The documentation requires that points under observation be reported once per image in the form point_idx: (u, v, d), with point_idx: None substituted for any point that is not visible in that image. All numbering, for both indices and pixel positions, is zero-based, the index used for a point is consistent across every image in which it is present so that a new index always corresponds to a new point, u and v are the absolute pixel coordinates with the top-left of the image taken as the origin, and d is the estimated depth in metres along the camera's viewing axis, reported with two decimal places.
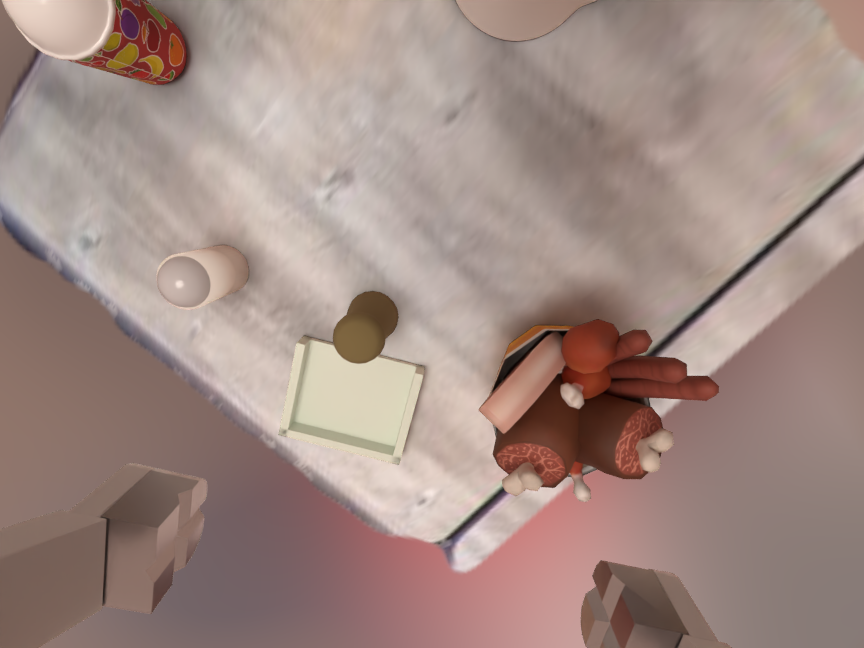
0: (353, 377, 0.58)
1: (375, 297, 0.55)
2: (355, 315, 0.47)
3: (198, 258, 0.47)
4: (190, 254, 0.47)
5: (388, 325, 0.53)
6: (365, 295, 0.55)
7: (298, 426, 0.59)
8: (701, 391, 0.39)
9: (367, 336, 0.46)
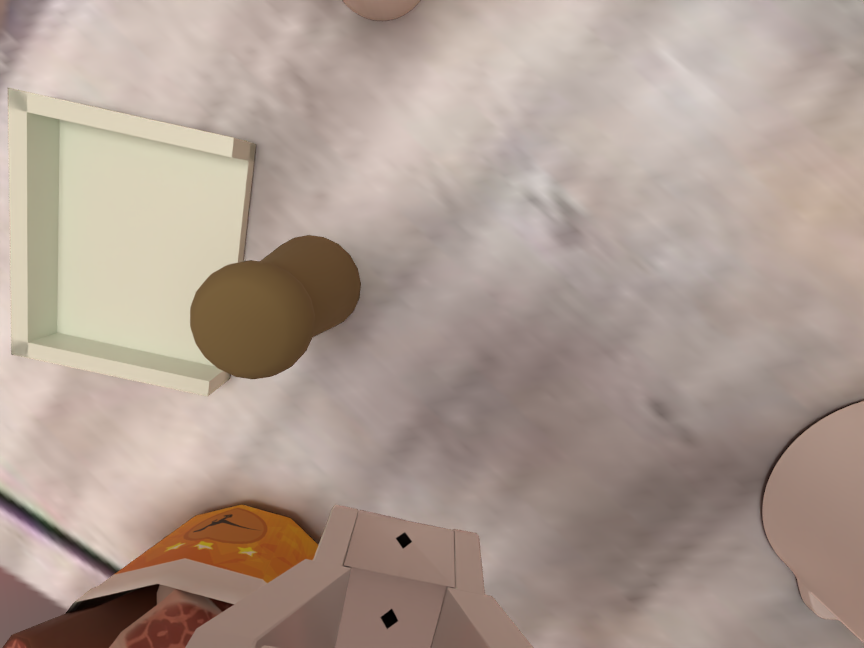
0: (183, 250, 0.29)
1: (349, 299, 0.28)
2: (304, 318, 0.20)
3: None
4: None
5: None
6: (352, 275, 0.29)
7: (45, 132, 0.27)
8: None
9: (256, 355, 0.20)
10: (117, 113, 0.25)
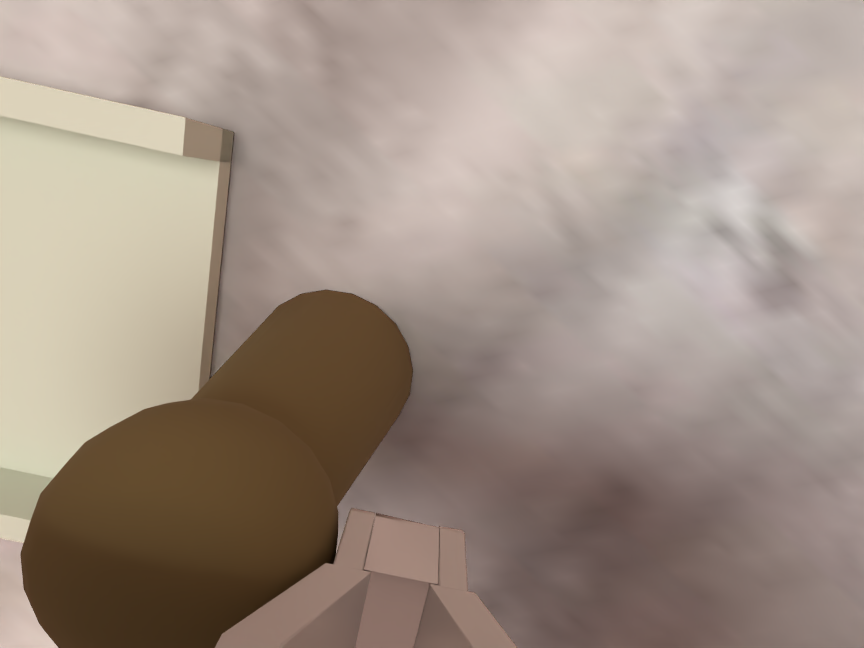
0: (109, 317, 0.17)
1: (396, 407, 0.16)
2: (313, 560, 0.08)
3: None
4: None
5: None
6: (401, 364, 0.16)
7: None
8: None
9: None
10: None
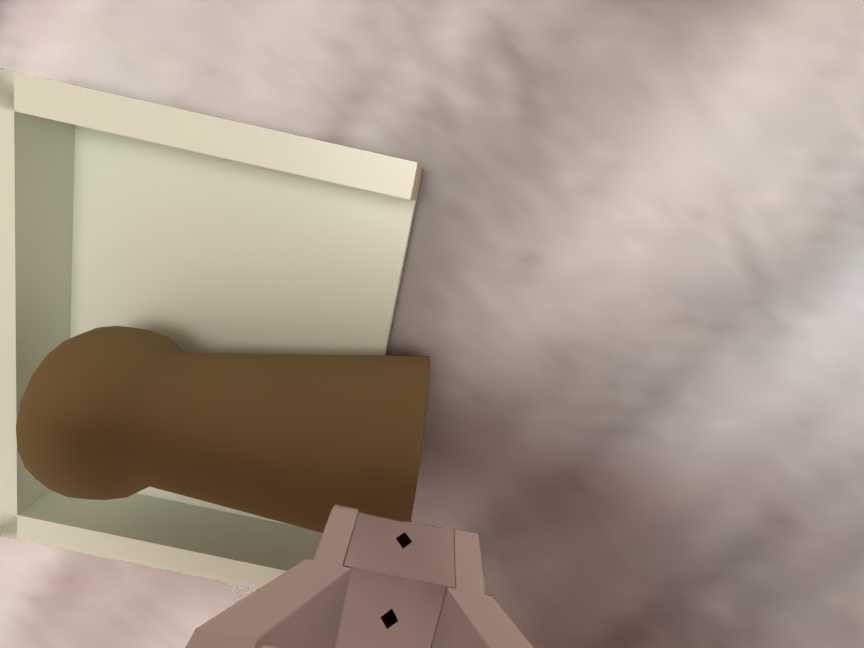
0: (287, 351, 0.17)
1: None
2: (31, 452, 0.12)
3: None
4: None
5: None
6: (368, 490, 0.12)
7: (49, 149, 0.14)
8: None
9: None
10: (191, 114, 0.13)
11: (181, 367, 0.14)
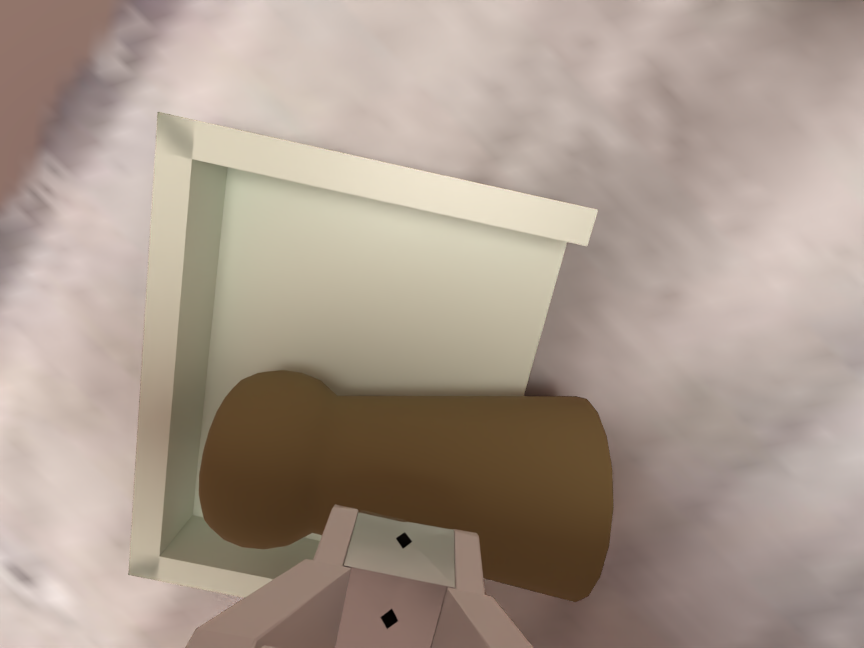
0: (427, 389, 0.17)
1: (519, 572, 0.13)
2: (220, 507, 0.12)
3: None
4: None
5: None
6: (559, 544, 0.12)
7: (210, 193, 0.14)
8: None
9: None
10: (373, 162, 0.13)
11: (352, 415, 0.14)
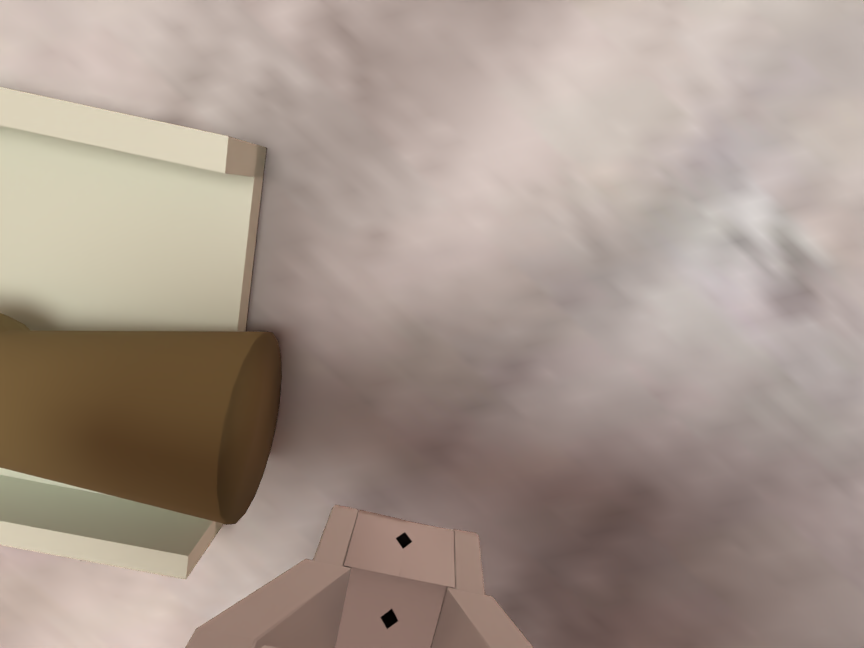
0: (142, 330, 0.17)
1: (150, 491, 0.13)
2: None
3: None
4: None
5: None
6: (174, 459, 0.13)
7: None
8: None
9: None
10: (2, 90, 0.13)
11: (4, 343, 0.14)
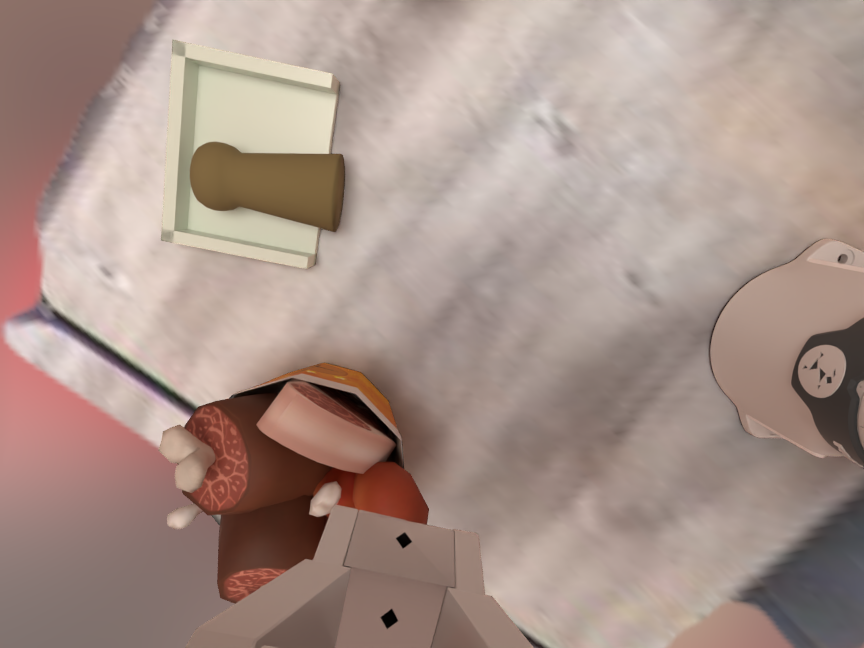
0: None
1: (305, 203, 0.36)
2: (197, 176, 0.35)
3: None
4: None
5: None
6: (316, 188, 0.35)
7: (192, 74, 0.37)
8: None
9: None
10: (250, 57, 0.36)
11: (246, 154, 0.37)
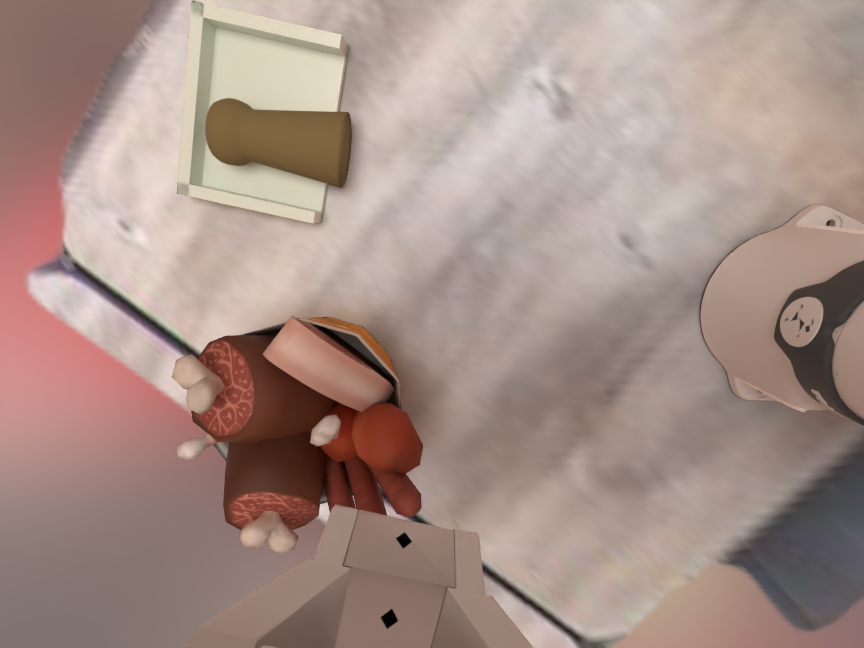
0: None
1: (313, 157, 0.38)
2: (212, 129, 0.38)
3: None
4: None
5: None
6: (324, 142, 0.38)
7: (209, 34, 0.40)
8: None
9: None
10: (264, 18, 0.38)
11: (259, 110, 0.39)
